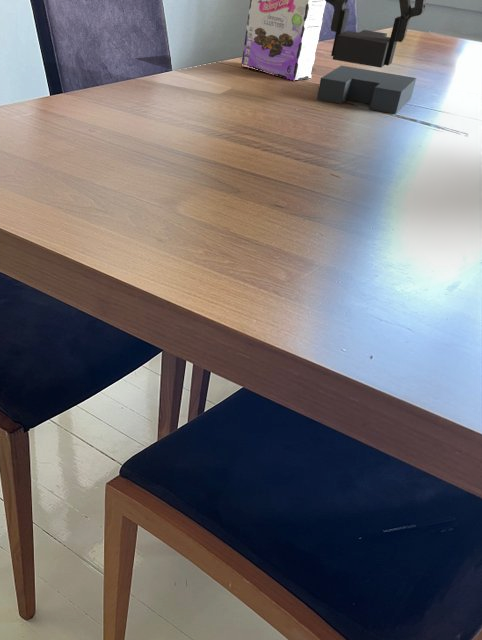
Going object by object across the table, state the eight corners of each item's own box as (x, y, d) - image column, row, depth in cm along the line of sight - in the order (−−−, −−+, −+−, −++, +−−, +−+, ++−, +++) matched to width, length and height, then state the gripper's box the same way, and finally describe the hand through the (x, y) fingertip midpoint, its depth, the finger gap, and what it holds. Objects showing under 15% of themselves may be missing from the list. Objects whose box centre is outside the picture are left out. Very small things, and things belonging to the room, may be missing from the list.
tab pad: (393, 58, 123) (399, 35, 121) (381, 67, 116) (387, 43, 114) (347, 51, 125) (352, 27, 123) (332, 59, 119) (337, 35, 116)
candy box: (239, 67, 146) (252, -31, 136) (258, 64, 150) (272, -31, 140) (293, 82, 139) (312, -21, 129) (312, 79, 142) (331, -21, 132)
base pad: (410, 98, 135) (416, 77, 132) (395, 114, 124) (401, 91, 122) (336, 85, 139) (341, 65, 137) (316, 99, 129) (320, 77, 127)
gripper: (324, -124, 106) (293, 52, 120) (473, -110, 99) (421, 74, 113) (338, -123, 111) (306, 46, 125) (479, -109, 105) (429, 66, 119)
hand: (361, 59), depth 119 cm, fingers closed on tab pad, 8 cm apart
